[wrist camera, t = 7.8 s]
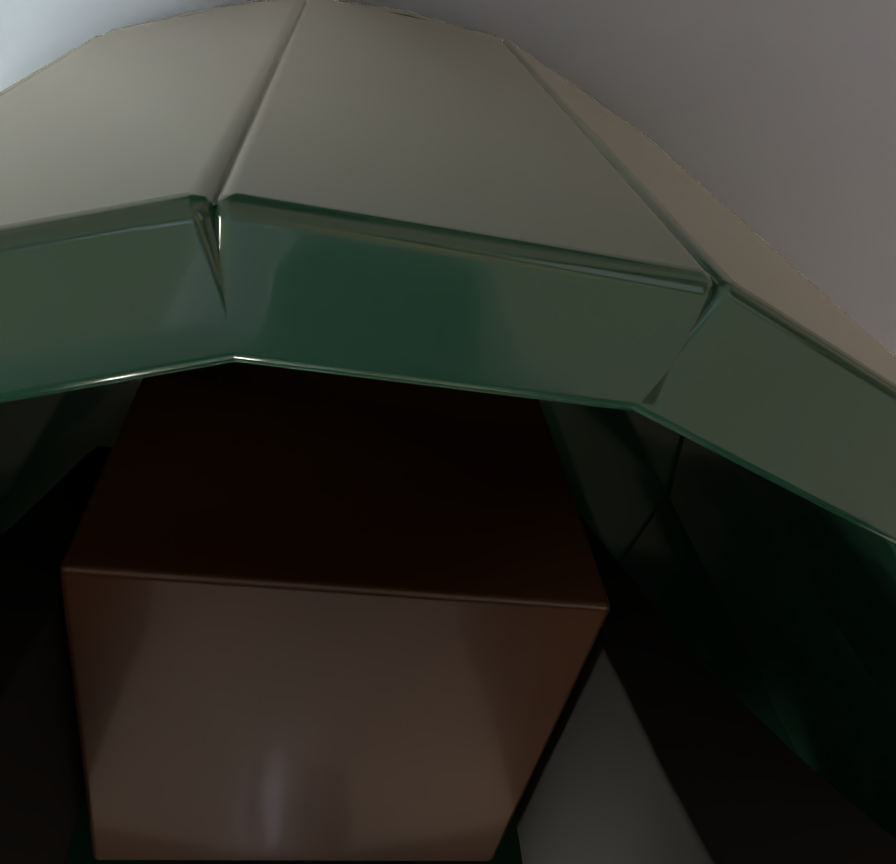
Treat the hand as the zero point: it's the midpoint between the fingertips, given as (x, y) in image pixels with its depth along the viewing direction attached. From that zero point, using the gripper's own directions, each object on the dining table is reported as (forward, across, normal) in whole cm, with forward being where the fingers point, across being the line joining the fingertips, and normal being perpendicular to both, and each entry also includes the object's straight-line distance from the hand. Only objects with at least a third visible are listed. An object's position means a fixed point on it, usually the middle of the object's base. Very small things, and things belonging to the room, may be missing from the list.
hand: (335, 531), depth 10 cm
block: (+1, 0, 0) cm, 1 cm away
